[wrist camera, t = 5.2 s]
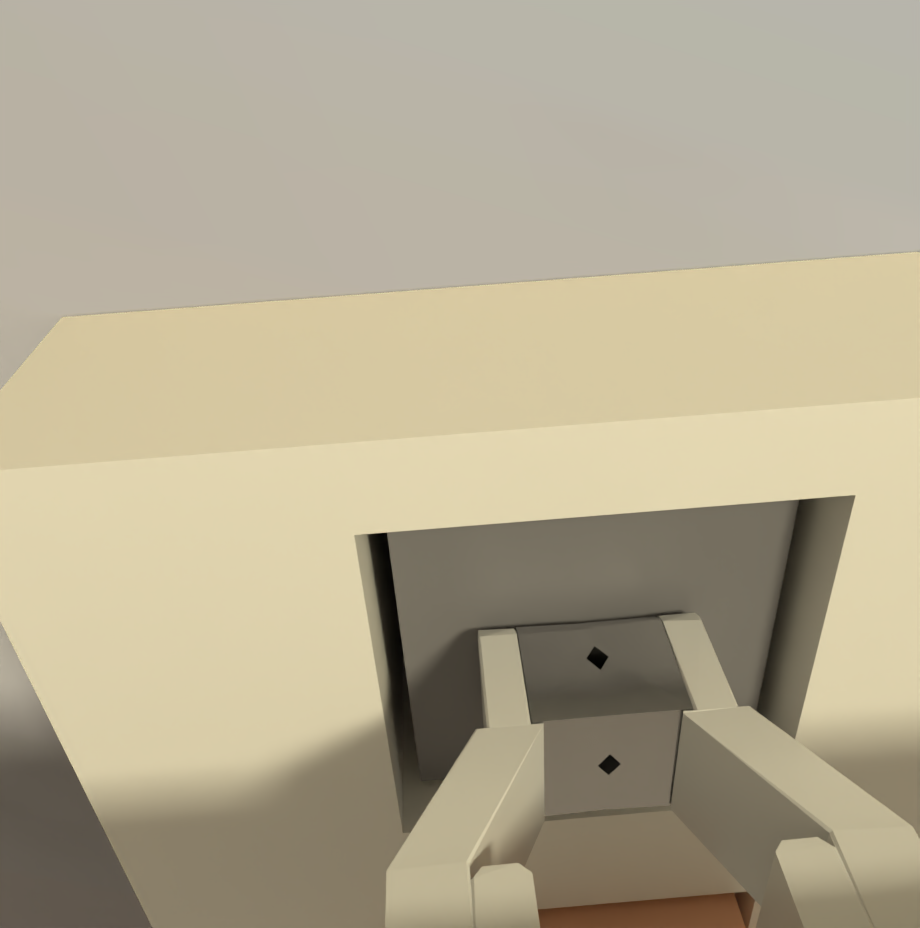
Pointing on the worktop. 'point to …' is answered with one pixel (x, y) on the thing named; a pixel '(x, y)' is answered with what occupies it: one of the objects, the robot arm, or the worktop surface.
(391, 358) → the console
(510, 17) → the worktop surface
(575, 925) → the terracotta key
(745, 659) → the charcoal key
